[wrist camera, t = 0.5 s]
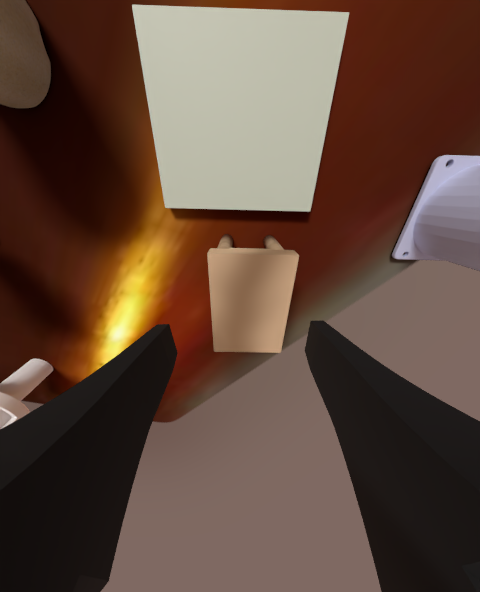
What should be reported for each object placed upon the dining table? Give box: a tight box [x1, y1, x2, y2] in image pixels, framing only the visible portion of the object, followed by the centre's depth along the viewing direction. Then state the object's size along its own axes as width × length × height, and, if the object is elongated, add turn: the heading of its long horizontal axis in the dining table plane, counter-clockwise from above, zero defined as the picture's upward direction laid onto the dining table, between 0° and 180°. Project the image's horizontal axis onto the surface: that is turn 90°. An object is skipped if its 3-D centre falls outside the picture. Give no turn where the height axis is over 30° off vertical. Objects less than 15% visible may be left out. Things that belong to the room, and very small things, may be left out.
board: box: [132, 5, 349, 212], centre depth 13 cm, size 12×10×1 cm
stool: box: [207, 234, 299, 353], centre depth 15 cm, size 5×8×7 cm
